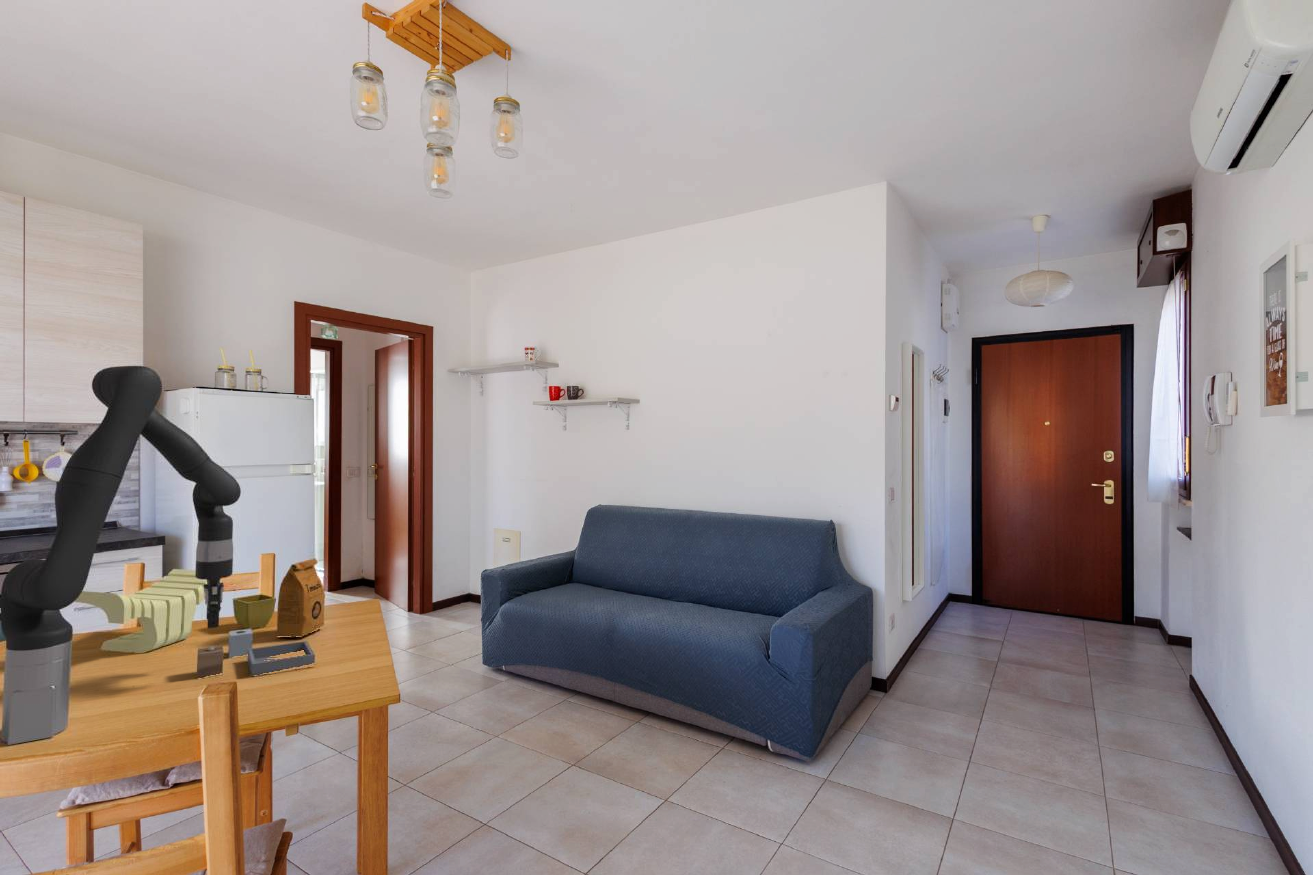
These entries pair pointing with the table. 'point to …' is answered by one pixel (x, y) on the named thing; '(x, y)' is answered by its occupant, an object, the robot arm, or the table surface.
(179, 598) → the slatted curved stool
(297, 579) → the coffee package
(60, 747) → the table surface
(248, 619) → the flower pot
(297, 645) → the tray
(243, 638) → the slate block
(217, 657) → the walnut block
